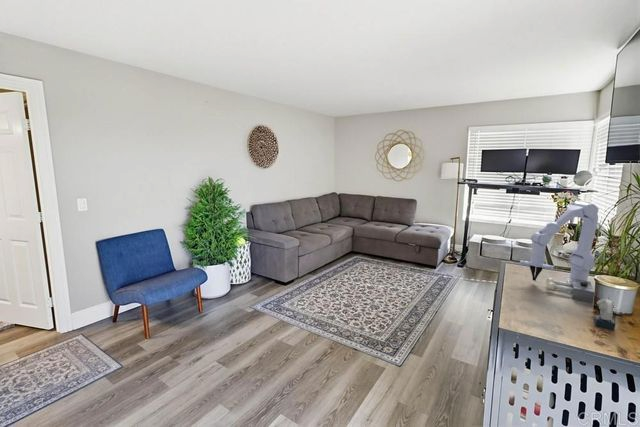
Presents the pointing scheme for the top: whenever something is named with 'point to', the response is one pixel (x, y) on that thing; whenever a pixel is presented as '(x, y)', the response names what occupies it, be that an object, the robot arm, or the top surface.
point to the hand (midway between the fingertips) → (534, 280)
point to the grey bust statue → (605, 315)
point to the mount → (582, 290)
